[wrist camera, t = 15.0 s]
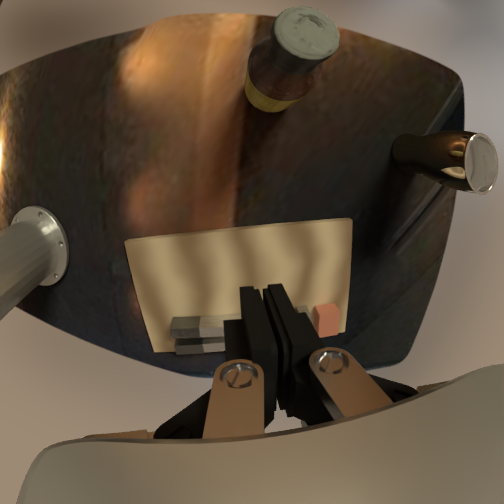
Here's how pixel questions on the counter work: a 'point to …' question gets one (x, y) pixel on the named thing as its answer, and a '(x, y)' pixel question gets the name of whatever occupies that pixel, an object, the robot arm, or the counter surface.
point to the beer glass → (449, 159)
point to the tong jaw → (199, 326)
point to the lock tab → (326, 319)
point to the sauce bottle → (290, 58)
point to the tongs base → (213, 340)
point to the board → (239, 270)
